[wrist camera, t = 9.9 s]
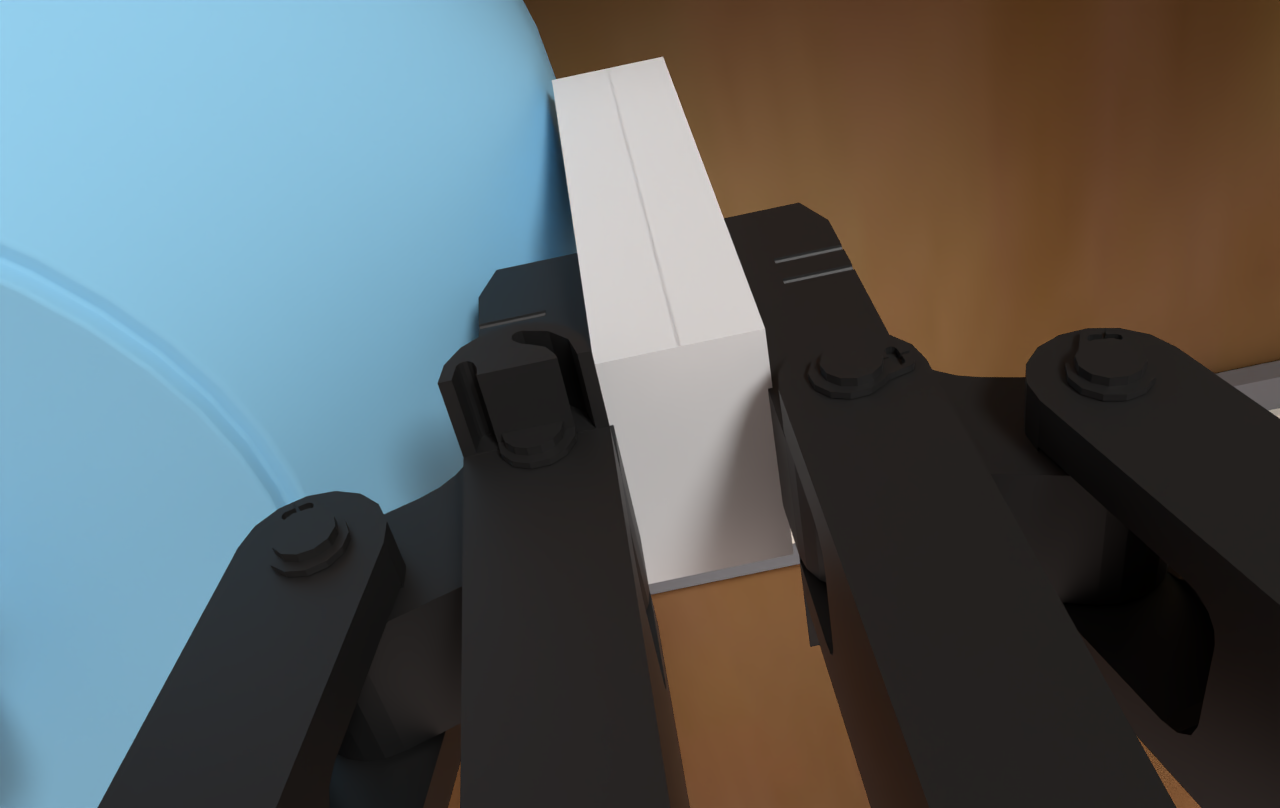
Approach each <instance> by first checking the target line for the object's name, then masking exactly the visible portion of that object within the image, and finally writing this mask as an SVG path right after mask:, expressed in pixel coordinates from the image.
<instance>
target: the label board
mask: <svg viewBox="0 0 1280 808" xmlns="http://www.w3.org/2000/svg"><path fill="white" fill-rule="evenodd" d="M1216 375H1218V376H1219V377H1220V378H1222V379H1223V380H1225V381H1226V382H1228V383H1229V384H1231V385H1232V386H1233V387H1235V388H1236V389H1238V390H1239V391H1241V392H1242V393H1244V394H1245V395H1246V396H1248V397H1249V398H1251V399H1252V400H1254V401H1255V402H1257V403H1258V404H1259V405H1261V406H1262V407H1264V408H1265V409H1267V410H1268V411H1270V412H1271V413H1273V414H1274V415H1275V416H1277V417H1278V418H1280V360H1279V361H1274V362H1269V363H1265V364H1260V365H1255V366H1250V367H1245V368H1240V369H1236V370H1231V371H1226V372H1221V373H1216ZM791 537H792V545H793V553H794V554H792V555H787V556H782V557H777V558H772V559H768V560H763V561H758V562H753V563H748V564H743V565H739V566H734V567H729V568H724V569H720V570H715V571H710V572H705V573H700V574H696V575H691V576H686V577H681V578H676V579H672V580H667V581H662V582H657V583H652V584H649V590H650V594H656V593H661V592H666V591H670V590H675V589H680V588H685V587H690V586H695V585H699V584H704V583H709V582H714V581H719V580H724V579H729V578H733V577H738V576H743V575H748V574H753V573H758V572H762V571H767V570H772V569H777V568H782V567H787V566H791V565H796V564H800V559H799V553H798V550H797V547H796V544H795V541H794V538H793V535H792V532H791Z"/></svg>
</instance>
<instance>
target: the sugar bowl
mask: <svg viewBox="0 0 1280 808" xmlns="http://www.w3.org/2000/svg"><path fill="white" fill-rule="evenodd" d="M552 80H556V77H555V75H554V72H553V69H552V67H551V64H550V61H549V58H548V56H547V53H546V50H545V48H544V45H543V42H542V40H541V37H540V34H539V31H538V29H537V26H536V24H535V22H534V20H533V19H532V17H531V15H530V13H529V11H528V9H527V7H526V5H525V3H524V1H523V0H0V808H97V807H98V806H99V804H100V802H101V800H102V798H103V796H104V795H105V793H106V791H107V789H108V787H109V785H110V783H111V782H112V780H113V778H114V776H115V774H116V772H117V770H118V769H119V767H120V765H121V763H122V761H123V759H124V758H125V756H126V754H127V752H128V750H129V748H130V746H131V745H132V743H133V741H134V739H135V737H136V735H137V733H138V732H139V730H140V728H141V726H142V724H143V722H144V721H145V719H146V717H147V715H148V713H149V711H150V709H151V708H152V706H153V704H154V702H155V700H156V698H157V696H158V695H159V693H160V691H161V689H162V687H163V685H164V684H165V682H166V680H167V678H168V676H169V674H170V672H171V671H172V669H173V667H174V665H175V663H176V661H177V659H178V658H179V656H180V654H181V652H182V650H183V648H184V646H185V645H186V643H187V641H188V639H189V637H190V635H191V634H192V632H193V630H194V628H195V626H196V624H197V622H198V621H199V619H200V617H201V615H202V613H203V611H204V609H205V608H206V606H207V604H208V602H209V600H210V598H211V597H212V595H213V593H214V591H215V589H216V587H217V585H218V584H219V582H220V580H221V578H222V576H223V574H224V572H225V571H226V569H227V567H228V565H229V563H230V561H231V560H232V558H233V556H234V554H235V552H236V550H237V548H238V547H239V546H240V544H241V543H242V542H243V541H244V539H245V538H246V537H247V535H248V534H249V533H250V532H251V530H252V529H253V528H254V527H255V526H256V525H257V524H258V523H260V522H261V521H263V520H264V519H265V518H267V517H268V516H269V515H271V514H272V513H273V512H275V511H276V510H277V509H279V508H281V507H283V506H285V505H288V504H290V503H292V502H295V501H297V500H299V499H301V498H304V497H306V496H310V495H316V494H321V493H327V492H332V491H341V492H351V493H360V494H362V495H364V496H366V497H367V498H369V499H371V500H373V501H374V502H376V503H378V504H379V506H380V508H381V510H382V512H383V514H386V513H388V512H390V511H392V510H395V509H397V508H399V507H401V506H404V505H406V504H408V503H410V502H412V501H415V500H417V499H419V498H421V497H423V496H425V495H426V494H428V493H430V492H432V491H434V490H436V489H438V488H439V487H441V486H442V485H443V484H444V483H446V482H447V481H448V480H450V479H451V478H452V477H454V476H455V475H456V474H457V473H458V472H459V471H460V470H461V468H462V467H463V455H462V452H461V449H460V446H459V443H458V441H457V438H456V435H455V432H454V429H453V426H452V423H451V421H450V418H449V415H448V412H447V409H446V406H445V403H444V401H443V398H442V395H441V392H440V389H439V386H438V380H439V378H440V375H441V372H442V369H443V366H444V364H445V363H446V362H447V361H448V360H449V359H450V358H451V357H452V356H453V355H454V354H455V353H456V352H457V351H458V350H459V349H460V348H461V347H463V346H464V345H466V344H468V343H469V342H471V341H473V340H474V339H476V338H478V337H479V330H480V328H479V296H480V294H481V293H482V291H483V290H484V288H485V287H486V285H487V284H488V282H489V280H490V279H491V277H492V276H493V274H494V273H495V271H496V270H499V269H503V268H508V267H513V266H517V265H522V264H527V263H532V262H536V261H541V260H546V259H551V258H555V257H560V256H565V255H570V254H574V253H577V247H576V240H575V234H574V227H573V220H572V213H571V206H570V200H569V193H568V186H567V179H566V173H565V166H564V159H563V152H562V145H561V139H560V132H559V125H558V118H557V112H556V105H555V98H554V91H553V84H552Z"/></svg>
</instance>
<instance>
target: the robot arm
mask: <svg viewBox="0 0 1280 808" xmlns="http://www.w3.org/2000/svg"><path fill="white" fill-rule="evenodd" d="M552 84H553V91H554V98H555V105H556V112H557V118H558V125H559V132H560V139H561V145H562V152H563V159H564V166H565V173H566V179H567V186H568V193H569V200H570V206H571V213H572V220H573V227H574V234H575V240H576V247H577V253H574V254H570V255H565V256H560V257H555V258H551V259H546V260H541V261H536V262H532V263H527V264H522V265H517V266H513V267H508V268H503V269H499V270H496V271H495V273H494V274H493V276H492V277H491V279H490V280H489V282H488V284H487V285H486V287H485V288H484V290H483V291H482V293H481V294H480V296H479V328H480V330H479V337H478V338H476V339H474V340H473V341H471V342H469V343H468V344H466V345H464V346H463V347H461V348H460V349H459V350H458V351H457V352H456V353H455V354H454V355H453V356H452V357H451V358H450V359H449V360H448V361H447V362H446V363H445V364H444V366H443V369H442V372H441V375H440V378H439V380H438V386H439V389H440V392H441V395H442V398H443V401H444V403H445V406H446V409H447V412H448V415H449V418H450V421H451V423H452V426H453V429H454V432H455V435H456V438H457V441H458V443H459V446H460V449H461V452H462V455H463V467H462V468H461V470H460V471H459V472H458V473H457V474H456V475H455V476H454V477H452V478H451V479H450V480H448V481H447V482H446V483H444V484H443V485H442V486H441V487H439V488H438V489H436V490H434V491H432V492H430V493H428V494H426V495H425V496H423V497H421V498H419V499H417V500H415V501H412V502H410V503H408V504H406V505H404V506H401V507H399V508H397V509H395V510H392V511H390V512H388V513H386V514H383V512H382V510H381V508H380V506H379V504H378V503H376V502H374V501H373V500H371V499H369V498H367V497H366V496H364V495H362V494H360V493H351V492H341V491H332V492H327V493H321V494H316V495H310V496H306V497H304V498H301V499H299V500H297V501H295V502H292V503H290V504H288V505H285V506H283V507H281V508H279V509H277V510H276V511H275V512H273V513H272V514H271V515H269V516H268V517H267V518H265V519H264V520H263V521H261V522H260V523H258V524H257V525H256V526H255V527H254V528H253V529H252V530H251V532H250V533H249V534H248V535H247V537H246V538H245V539H244V541H243V542H242V543H241V544H240V546H239V547H238V548H237V550H236V552H235V554H234V556H233V558H232V560H231V561H230V563H229V565H228V567H227V569H226V571H225V572H224V574H223V576H222V578H221V580H220V582H219V584H218V585H217V587H216V589H215V591H214V593H213V595H212V597H211V598H210V600H209V602H208V604H207V606H206V608H205V609H204V611H203V613H202V615H201V617H200V619H199V621H198V622H197V624H196V626H195V628H194V630H193V632H192V634H191V635H190V637H189V639H188V641H187V643H186V645H185V646H184V648H183V650H182V652H181V654H180V656H179V658H178V659H177V661H176V663H175V665H174V667H173V669H172V671H171V672H170V674H169V676H168V678H167V680H166V682H165V684H164V685H163V687H162V689H161V691H160V693H159V695H158V696H157V698H156V700H155V702H154V704H153V706H152V708H151V709H150V711H149V713H148V715H147V717H146V719H145V721H144V722H143V724H142V726H141V728H140V730H139V732H138V733H137V735H136V737H135V739H134V741H133V743H132V745H131V746H130V748H129V750H128V752H127V754H126V756H125V758H124V759H123V761H122V763H121V765H120V767H119V769H118V770H117V772H116V774H115V776H114V778H113V780H112V782H111V783H110V785H109V787H108V789H107V791H106V793H105V795H104V796H103V798H102V800H101V802H100V804H99V806H98V807H97V808H448V805H449V801H450V798H451V794H452V790H453V787H454V783H455V780H456V776H457V772H458V769H459V765H460V761H461V787H460V808H690V806H689V800H688V794H687V788H686V783H685V777H684V771H683V766H682V760H681V754H680V748H679V743H678V737H677V731H676V725H675V720H674V714H673V708H672V702H671V697H670V691H669V685H668V680H667V674H666V668H665V662H664V657H663V651H662V645H661V639H660V634H659V628H658V623H657V619H656V615H655V611H654V606H653V602H652V598H651V594H650V590H649V584H652V583H657V582H662V581H667V580H672V579H676V578H681V577H686V576H691V575H696V574H700V573H705V572H710V571H715V570H720V569H724V568H729V567H734V566H739V565H743V564H748V563H753V562H758V561H763V560H768V559H772V558H777V557H782V556H787V555H792V554H794V553H793V545H792V537H791V532H792V535H793V538H794V541H795V544H796V547H797V550H798V553H799V559H800V567H801V575H802V583H803V591H804V599H805V607H806V616H807V624H808V632H809V640H810V647H812V646H816V645H820V647H821V650H822V653H823V657H824V660H825V663H826V666H827V669H828V672H829V676H830V679H831V682H832V685H833V688H834V692H835V695H836V698H837V701H838V704H839V707H840V711H841V714H842V717H843V720H844V723H845V727H846V730H847V733H848V736H849V739H850V742H851V746H852V749H853V752H854V755H855V758H856V762H857V765H858V768H859V771H860V774H861V777H862V781H863V784H864V787H865V790H866V793H867V797H868V800H869V803H870V806H871V808H1176V806H1175V804H1174V803H1173V801H1172V799H1171V797H1170V795H1169V794H1168V792H1167V790H1166V788H1165V786H1164V785H1163V783H1162V781H1161V779H1160V777H1159V776H1158V774H1157V772H1156V770H1155V768H1154V767H1153V765H1152V763H1151V761H1150V760H1149V758H1148V756H1147V754H1146V752H1145V751H1144V749H1143V747H1142V745H1141V743H1140V742H1139V740H1138V738H1139V739H1140V740H1141V741H1142V742H1143V743H1144V745H1145V746H1146V747H1147V748H1148V749H1149V750H1150V751H1151V752H1152V753H1153V755H1154V756H1155V757H1156V758H1157V759H1158V760H1159V761H1160V762H1161V763H1162V764H1163V766H1164V767H1165V768H1166V769H1167V770H1168V771H1169V772H1170V773H1171V774H1172V776H1173V777H1174V778H1175V779H1176V780H1177V781H1178V782H1179V783H1180V784H1181V786H1182V787H1183V788H1184V789H1185V790H1186V791H1187V792H1188V793H1189V794H1190V795H1191V797H1192V798H1193V799H1194V800H1195V801H1196V802H1197V803H1198V804H1199V805H1200V807H1201V808H1280V418H1278V417H1277V416H1275V415H1274V414H1273V413H1271V412H1270V411H1268V410H1267V409H1265V408H1264V407H1262V406H1261V405H1259V404H1258V403H1257V402H1255V401H1254V400H1252V399H1251V398H1249V397H1248V396H1246V395H1245V394H1244V393H1242V392H1241V391H1239V390H1238V389H1236V388H1235V387H1233V386H1232V385H1231V384H1229V383H1228V382H1226V381H1225V380H1223V379H1222V378H1220V377H1219V376H1218V375H1216V374H1215V373H1213V372H1212V371H1210V370H1209V369H1207V368H1206V367H1204V366H1203V365H1202V364H1200V363H1199V362H1197V361H1196V360H1194V359H1193V358H1191V357H1190V356H1189V355H1187V354H1186V353H1184V352H1183V351H1181V350H1180V349H1178V348H1177V347H1175V346H1173V345H1171V344H1169V343H1167V342H1165V341H1163V340H1161V339H1159V338H1156V337H1154V336H1152V335H1150V334H1145V333H1140V332H1136V331H1131V330H1126V329H1121V328H1087V329H1083V330H1079V331H1074V332H1070V333H1066V334H1062V335H1058V336H1057V337H1055V338H1053V339H1052V340H1050V341H1048V342H1046V343H1045V344H1043V345H1041V346H1039V347H1038V348H1037V349H1036V351H1035V352H1034V353H1033V355H1032V356H1031V358H1030V359H1029V361H1028V362H1027V364H1026V377H969V376H956V375H952V374H948V373H943V372H939V371H934V370H932V369H931V367H930V365H929V363H928V361H927V360H926V358H925V357H924V356H923V355H922V354H921V353H920V352H919V351H918V350H917V349H916V348H915V347H914V346H913V345H912V344H910V343H907V342H905V341H903V340H900V339H898V338H896V337H893V336H891V335H889V333H888V331H887V330H886V328H885V326H884V324H883V322H882V320H881V318H880V316H879V315H878V313H877V311H876V309H875V307H874V305H873V303H872V301H871V299H870V298H869V296H868V294H867V292H866V290H865V288H864V286H863V284H862V283H861V281H860V279H859V277H858V275H857V273H856V271H855V269H854V270H853V268H852V264H851V262H850V260H849V258H848V256H847V254H846V252H845V251H844V249H843V250H842V246H841V243H840V241H839V239H838V237H837V236H836V234H835V232H834V230H833V228H832V226H831V224H830V222H829V220H827V219H825V218H824V217H822V216H820V215H819V214H817V213H815V212H814V211H812V210H810V209H809V208H807V207H805V206H804V205H802V204H800V203H795V204H790V205H786V206H781V207H776V208H771V209H767V210H762V211H757V212H753V213H748V214H743V215H738V216H734V217H729V218H723V215H722V213H721V210H720V207H719V205H718V202H717V199H716V197H715V194H714V191H713V189H712V186H711V183H710V181H709V178H708V175H707V173H706V170H705V167H704V165H703V162H702V159H701V157H700V154H699V151H698V149H697V146H696V143H695V141H694V138H693V135H692V133H691V130H690V127H689V125H688V122H687V119H686V117H685V114H684V111H683V109H682V106H681V103H680V101H679V98H678V95H677V93H676V90H675V87H674V85H673V82H672V79H671V77H670V74H669V72H668V69H667V66H666V64H665V61H664V58H663V57H659V58H654V59H649V60H645V61H640V62H635V63H631V64H626V65H621V66H617V67H612V68H607V69H603V70H598V71H593V72H588V73H584V74H579V75H574V76H570V77H565V78H560V79H556V80H552ZM1137 737H1138V738H1137Z"/></svg>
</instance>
